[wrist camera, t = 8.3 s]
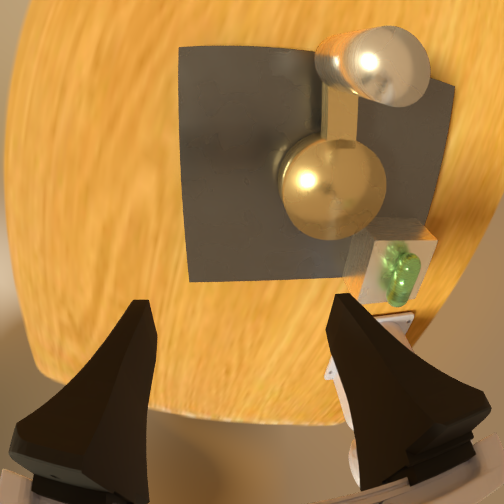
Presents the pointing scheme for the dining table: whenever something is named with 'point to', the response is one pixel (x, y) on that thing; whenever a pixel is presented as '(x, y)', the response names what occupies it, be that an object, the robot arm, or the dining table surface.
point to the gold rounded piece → (349, 130)
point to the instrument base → (267, 168)
